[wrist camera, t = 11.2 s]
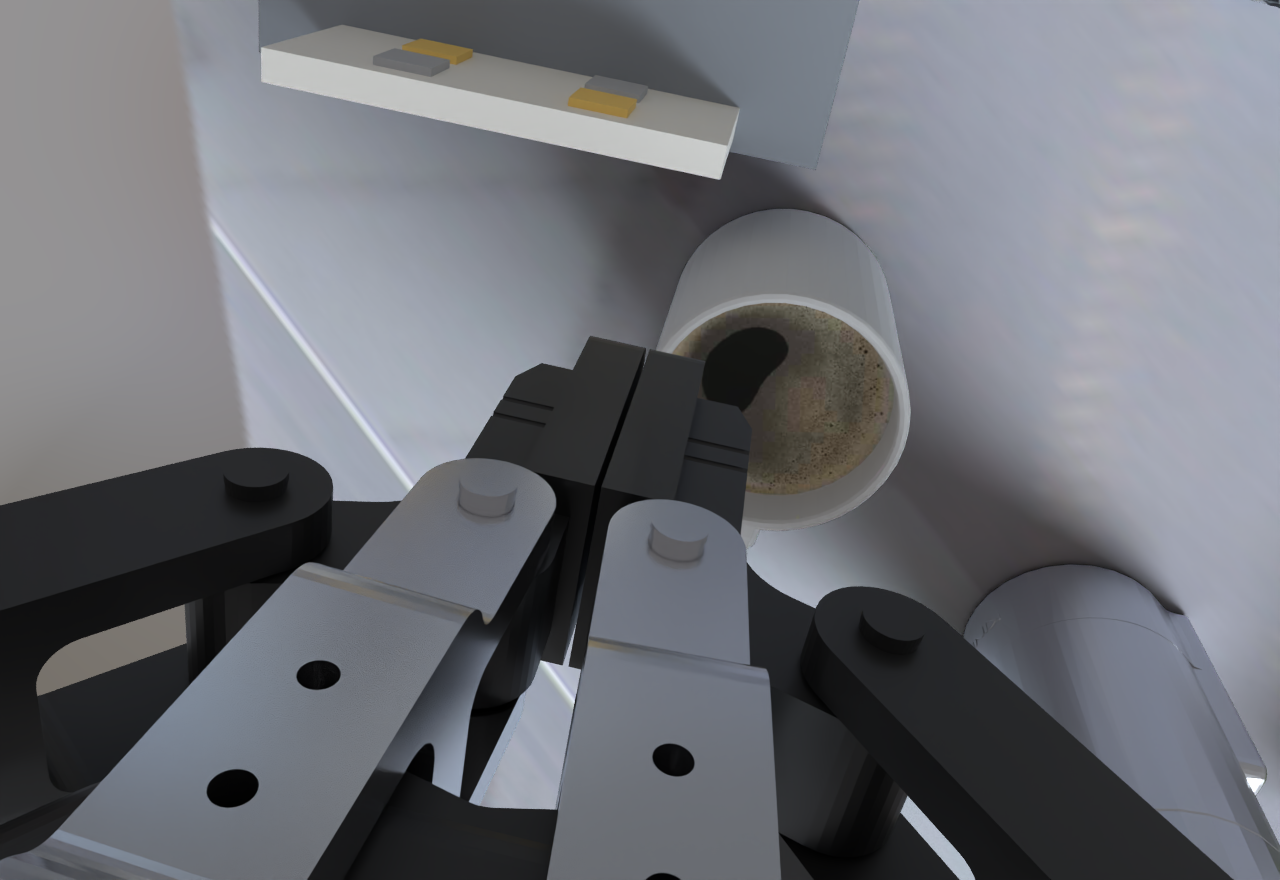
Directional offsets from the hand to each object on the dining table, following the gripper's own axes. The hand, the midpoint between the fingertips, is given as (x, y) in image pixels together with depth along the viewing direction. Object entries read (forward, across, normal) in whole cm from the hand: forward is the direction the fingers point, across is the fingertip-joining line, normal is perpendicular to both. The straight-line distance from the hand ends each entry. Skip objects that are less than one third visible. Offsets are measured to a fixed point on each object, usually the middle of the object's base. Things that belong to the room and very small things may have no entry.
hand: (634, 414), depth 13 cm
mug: (+29, -3, +10) cm, 31 cm away
